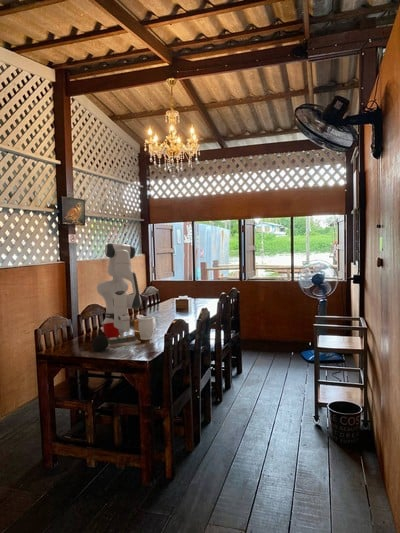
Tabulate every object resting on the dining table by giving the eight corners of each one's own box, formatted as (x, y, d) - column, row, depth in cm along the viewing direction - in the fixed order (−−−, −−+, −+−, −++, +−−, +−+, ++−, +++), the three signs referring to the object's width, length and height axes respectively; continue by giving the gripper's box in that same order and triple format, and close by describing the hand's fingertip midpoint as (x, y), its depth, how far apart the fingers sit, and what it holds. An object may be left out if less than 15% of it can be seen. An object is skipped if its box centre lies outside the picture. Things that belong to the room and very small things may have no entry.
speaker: (111, 350, 243) (111, 335, 243) (98, 354, 236) (97, 338, 235) (102, 348, 250) (102, 333, 249) (89, 351, 243) (88, 336, 242)
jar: (139, 341, 267) (138, 319, 266) (137, 337, 277) (137, 316, 276) (155, 339, 270) (154, 318, 269) (152, 336, 280) (152, 315, 279)
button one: (109, 342, 258) (109, 337, 258) (115, 341, 260) (115, 336, 260) (111, 343, 255) (111, 338, 254) (117, 342, 257) (117, 337, 257)
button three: (126, 339, 264) (126, 335, 264) (132, 338, 266) (131, 334, 266) (128, 340, 261) (128, 336, 261) (134, 340, 263) (134, 335, 263)
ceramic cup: (123, 340, 269) (122, 326, 268) (100, 340, 272) (99, 325, 272) (130, 336, 282) (129, 322, 281) (108, 335, 285) (107, 322, 284)
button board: (103, 344, 260) (103, 338, 259) (134, 339, 271) (134, 333, 271) (108, 348, 250) (108, 341, 250) (140, 342, 262) (140, 336, 262)
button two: (118, 341, 261) (117, 336, 261) (123, 340, 263) (123, 335, 263) (120, 342, 258) (120, 337, 258) (125, 341, 260) (125, 336, 260)
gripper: (111, 314, 267) (111, 333, 268) (121, 318, 249) (122, 339, 250) (120, 312, 270) (120, 332, 271) (131, 317, 253) (131, 338, 254)
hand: (121, 336), depth 260 cm, fingers closed
